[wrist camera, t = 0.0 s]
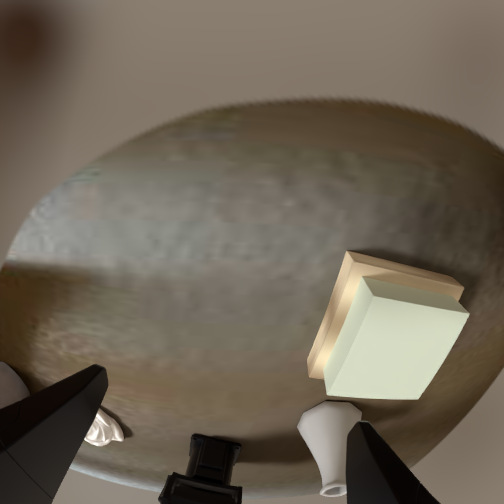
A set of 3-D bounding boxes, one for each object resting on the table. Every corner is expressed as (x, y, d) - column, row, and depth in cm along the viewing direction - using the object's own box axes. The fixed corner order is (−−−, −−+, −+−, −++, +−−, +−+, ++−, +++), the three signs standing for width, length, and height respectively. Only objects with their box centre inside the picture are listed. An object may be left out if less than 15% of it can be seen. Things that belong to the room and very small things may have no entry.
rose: (72, 443, 31) (47, 406, 28) (83, 426, 35) (62, 388, 32) (123, 464, 30) (102, 429, 27) (133, 443, 34) (115, 406, 31)
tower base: (402, 367, 26) (411, 385, 23) (306, 356, 26) (308, 377, 23) (448, 273, 22) (464, 287, 19) (344, 248, 22) (353, 261, 19)
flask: (372, 407, 27) (390, 478, 18) (334, 439, 29) (341, 505, 20) (322, 391, 26) (332, 472, 17) (286, 426, 29) (284, 499, 19)
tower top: (408, 377, 22) (417, 399, 20) (323, 370, 23) (326, 394, 20) (452, 296, 19) (469, 313, 16) (361, 276, 19) (373, 295, 17)
